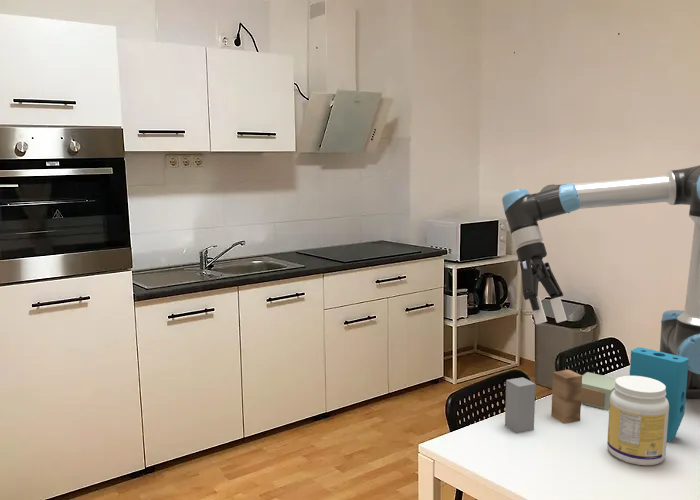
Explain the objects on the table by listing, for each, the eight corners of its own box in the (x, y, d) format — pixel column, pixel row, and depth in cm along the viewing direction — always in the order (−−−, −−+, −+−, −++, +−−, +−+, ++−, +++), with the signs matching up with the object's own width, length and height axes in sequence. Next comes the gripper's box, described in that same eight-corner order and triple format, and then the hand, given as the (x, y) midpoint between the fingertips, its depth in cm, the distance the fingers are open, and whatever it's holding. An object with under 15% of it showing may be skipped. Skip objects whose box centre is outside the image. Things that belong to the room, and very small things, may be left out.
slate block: (521, 422, 160) (522, 377, 158) (533, 430, 156) (535, 383, 154) (504, 425, 158) (506, 380, 157) (517, 433, 154) (518, 386, 152)
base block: (622, 400, 174) (623, 380, 174) (608, 412, 167) (610, 390, 166) (586, 391, 181) (587, 371, 180) (571, 402, 173) (572, 381, 172)
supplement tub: (616, 437, 151) (620, 370, 149) (671, 452, 144) (676, 381, 141) (599, 456, 142) (603, 384, 139) (657, 473, 134) (662, 397, 132)
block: (683, 438, 150) (690, 358, 147) (674, 445, 147) (680, 363, 144) (634, 423, 159) (639, 346, 156) (624, 428, 156) (629, 351, 153)
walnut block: (566, 413, 166) (568, 369, 164) (580, 420, 161) (582, 375, 159) (551, 416, 164) (553, 372, 162) (564, 423, 159) (566, 378, 157)
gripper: (535, 252, 181) (556, 324, 176) (495, 247, 162) (518, 327, 157) (560, 244, 177) (582, 317, 171) (522, 237, 158) (546, 319, 152)
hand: (552, 322), depth 164 cm, fingers open, 13 cm apart
